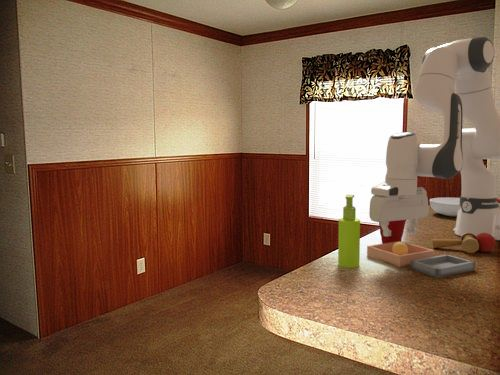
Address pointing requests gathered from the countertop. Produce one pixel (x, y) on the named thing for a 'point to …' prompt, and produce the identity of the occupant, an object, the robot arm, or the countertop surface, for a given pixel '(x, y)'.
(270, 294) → the countertop surface
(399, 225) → the plastic cup
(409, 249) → the dish
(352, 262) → the soap dispenser
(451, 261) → the tray
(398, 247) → the ball
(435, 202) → the serving bowl
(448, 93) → the robot arm
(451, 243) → the kendama
